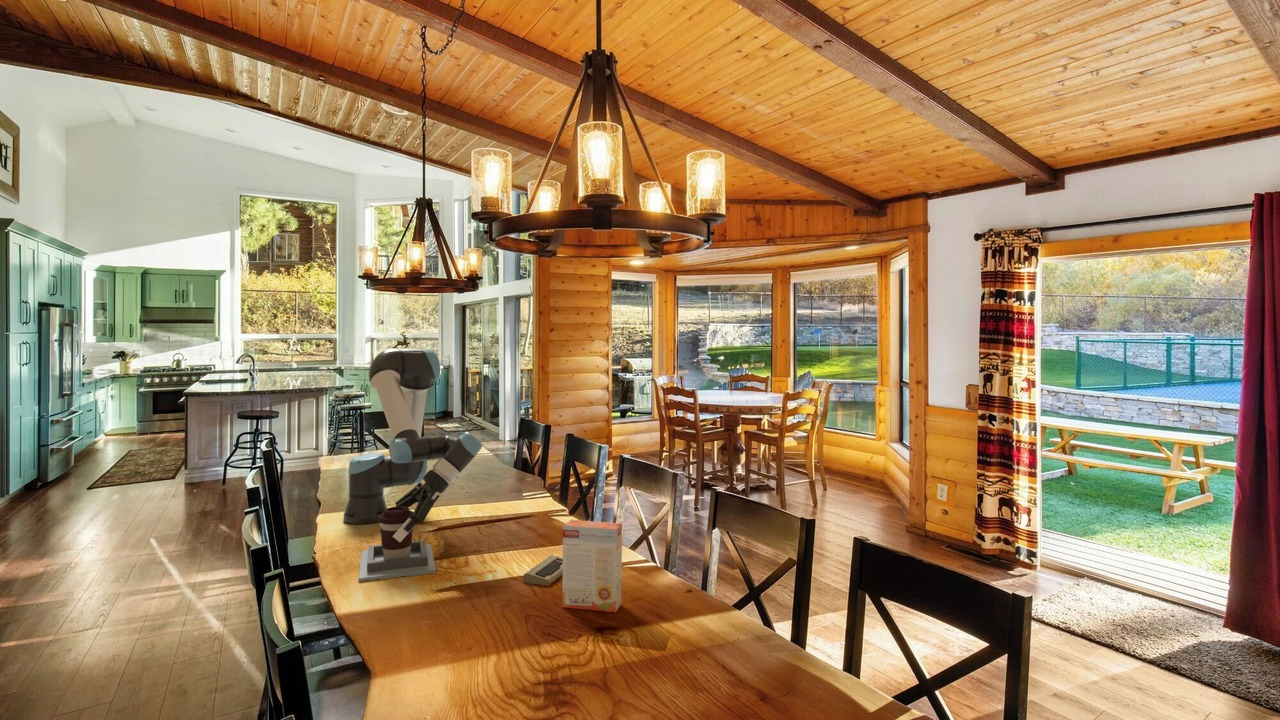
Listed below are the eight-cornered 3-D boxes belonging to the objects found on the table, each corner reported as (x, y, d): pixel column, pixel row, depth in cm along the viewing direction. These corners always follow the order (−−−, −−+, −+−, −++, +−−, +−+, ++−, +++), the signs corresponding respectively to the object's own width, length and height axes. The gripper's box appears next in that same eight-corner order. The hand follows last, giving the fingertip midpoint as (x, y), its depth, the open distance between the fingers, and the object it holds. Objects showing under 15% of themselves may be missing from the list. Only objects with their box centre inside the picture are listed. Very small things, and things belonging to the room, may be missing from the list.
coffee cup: (378, 567, 180) (378, 515, 179) (379, 555, 189) (378, 506, 188) (415, 563, 183) (415, 512, 183) (414, 551, 193) (413, 503, 192)
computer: (549, 588, 171) (549, 575, 170) (522, 583, 173) (522, 571, 173) (573, 568, 185) (573, 557, 185) (549, 565, 188) (549, 553, 188)
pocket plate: (362, 553, 194) (362, 542, 194) (430, 546, 201) (430, 535, 201) (358, 582, 171) (358, 569, 171) (435, 573, 179) (435, 560, 179)
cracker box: (622, 604, 160) (623, 522, 159) (615, 614, 154) (617, 529, 153) (569, 598, 163) (570, 518, 162) (561, 607, 157) (562, 524, 156)
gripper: (464, 492, 185) (411, 552, 176) (435, 476, 205) (387, 530, 196) (446, 476, 181) (392, 537, 173) (419, 461, 201) (369, 515, 193)
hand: (389, 533), depth 185 cm, fingers open, 13 cm apart
